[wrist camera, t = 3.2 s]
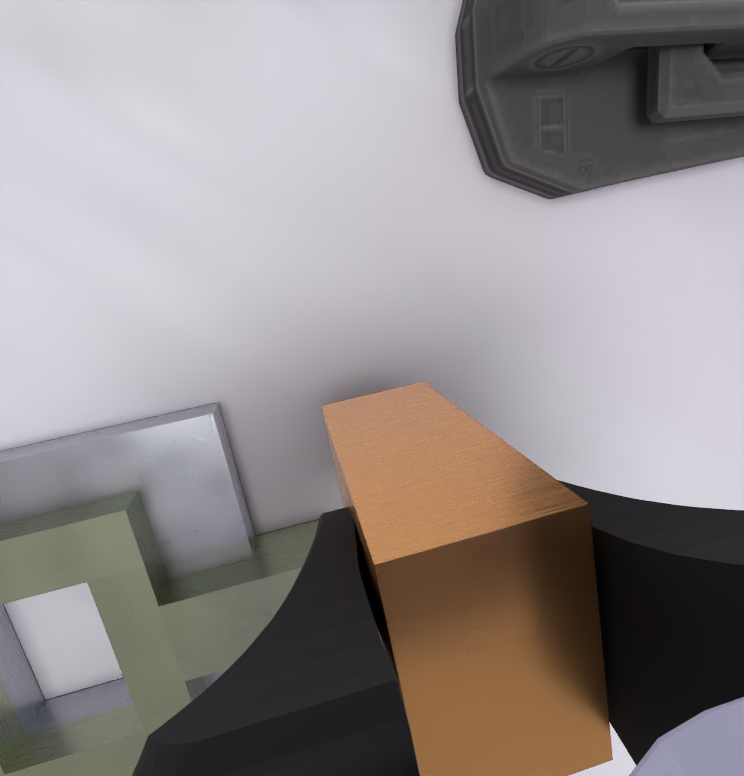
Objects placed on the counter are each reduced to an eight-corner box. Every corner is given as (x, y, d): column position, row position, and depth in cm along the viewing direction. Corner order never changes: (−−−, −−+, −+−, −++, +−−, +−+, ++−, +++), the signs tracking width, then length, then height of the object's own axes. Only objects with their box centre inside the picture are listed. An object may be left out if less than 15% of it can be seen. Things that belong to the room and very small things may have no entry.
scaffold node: (370, 688, 22) (390, 776, 18) (-47, 818, 20) (-125, 948, 16) (300, 383, 19) (305, 412, 15) (-216, 500, 16) (-366, 568, 13)
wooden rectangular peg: (447, 520, 16) (612, 760, 8) (353, 546, 15) (431, 825, 8) (423, 381, 14) (589, 504, 7) (320, 405, 14) (374, 565, 6)
